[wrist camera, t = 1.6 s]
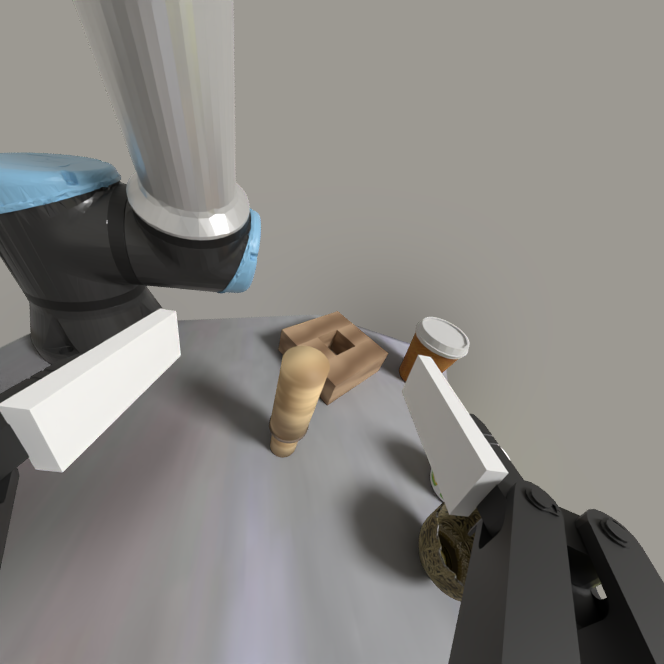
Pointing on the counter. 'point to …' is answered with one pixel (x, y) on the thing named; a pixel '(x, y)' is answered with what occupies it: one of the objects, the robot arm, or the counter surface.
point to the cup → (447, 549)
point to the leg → (296, 397)
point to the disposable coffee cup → (435, 345)
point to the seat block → (337, 351)
